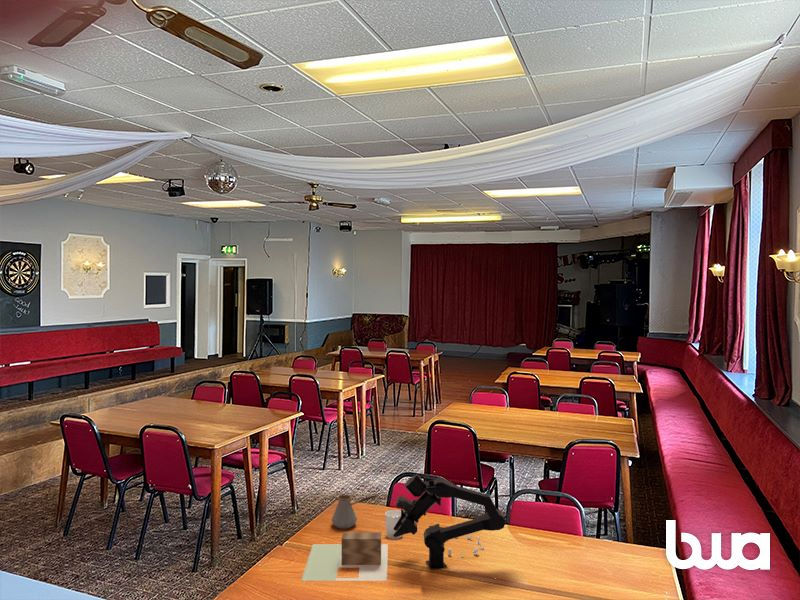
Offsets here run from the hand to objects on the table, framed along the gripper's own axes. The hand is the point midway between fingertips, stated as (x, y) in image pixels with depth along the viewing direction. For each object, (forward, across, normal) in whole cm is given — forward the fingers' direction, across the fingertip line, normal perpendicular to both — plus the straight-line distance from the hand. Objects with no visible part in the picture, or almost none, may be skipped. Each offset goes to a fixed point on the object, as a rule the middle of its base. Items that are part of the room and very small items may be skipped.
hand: (394, 532), depth 227 cm
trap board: (+22, 0, -4) cm, 22 cm away
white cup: (+9, -26, +9) cm, 29 cm away
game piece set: (-10, -16, +29) cm, 34 cm away
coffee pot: (+22, -36, -4) cm, 43 cm away
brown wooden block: (+17, 0, -1) cm, 17 cm away
